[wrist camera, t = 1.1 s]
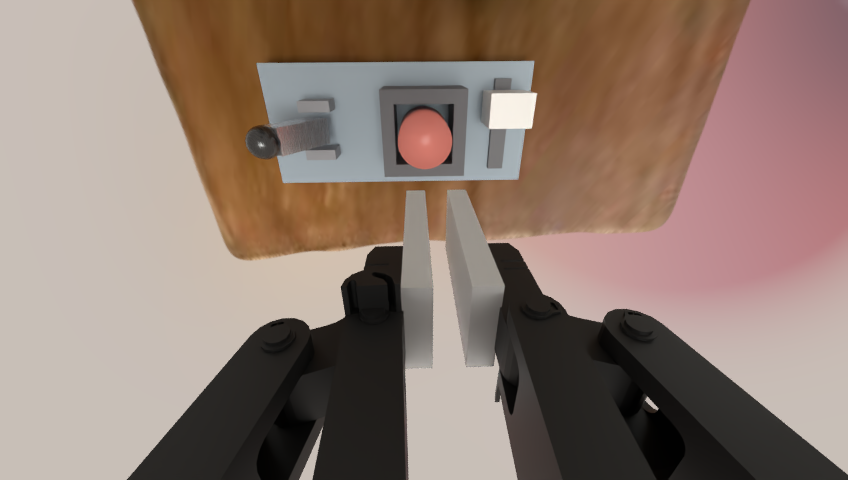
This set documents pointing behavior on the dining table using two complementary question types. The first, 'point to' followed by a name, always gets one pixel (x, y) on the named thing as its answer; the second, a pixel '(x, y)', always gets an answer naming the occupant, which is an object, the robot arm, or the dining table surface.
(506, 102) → the slider
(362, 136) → the panel
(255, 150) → the lever
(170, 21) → the dining table surface
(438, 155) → the button
